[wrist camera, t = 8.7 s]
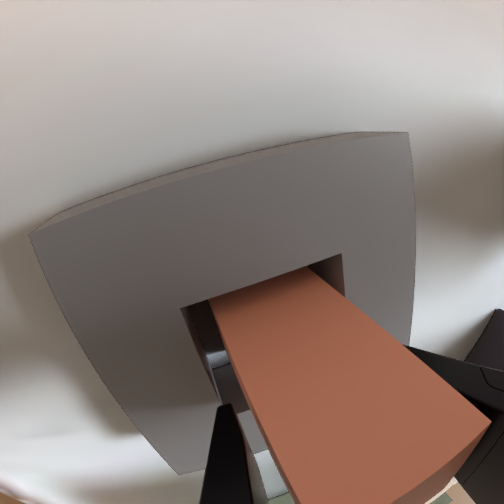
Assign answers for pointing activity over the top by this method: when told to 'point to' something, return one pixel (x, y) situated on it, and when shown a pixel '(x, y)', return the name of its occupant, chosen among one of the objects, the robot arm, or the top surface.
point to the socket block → (226, 268)
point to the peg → (342, 396)
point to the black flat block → (490, 344)
